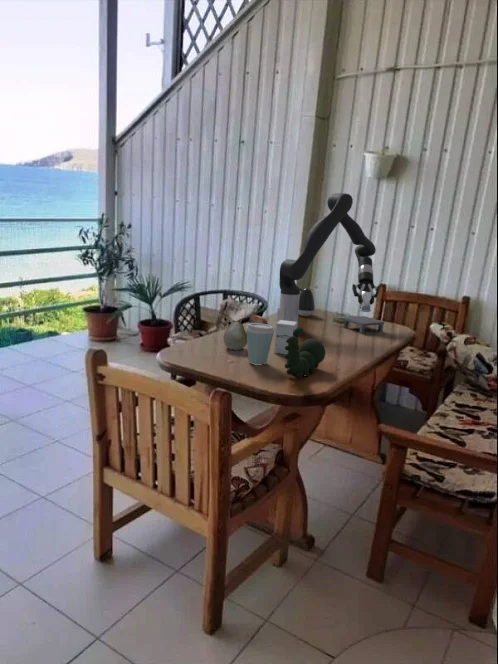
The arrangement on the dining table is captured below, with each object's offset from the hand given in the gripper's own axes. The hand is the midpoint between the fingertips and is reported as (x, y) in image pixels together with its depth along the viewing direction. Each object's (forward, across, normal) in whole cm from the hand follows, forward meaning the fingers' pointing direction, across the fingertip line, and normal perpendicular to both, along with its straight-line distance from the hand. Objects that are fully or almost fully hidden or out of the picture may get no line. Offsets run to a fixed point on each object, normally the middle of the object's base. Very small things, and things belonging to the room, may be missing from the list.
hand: (366, 303), depth 248 cm
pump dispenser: (-9, -29, +29) cm, 42 cm away
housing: (+2, 0, +4) cm, 5 cm away
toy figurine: (+62, -30, -43) cm, 82 cm away
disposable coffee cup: (+58, -48, -39) cm, 84 cm away
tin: (+26, -51, -7) cm, 58 cm away
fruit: (+46, -58, -27) cm, 79 cm away
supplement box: (+45, -38, -26) cm, 65 cm away
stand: (+9, 0, +11) cm, 14 cm away
